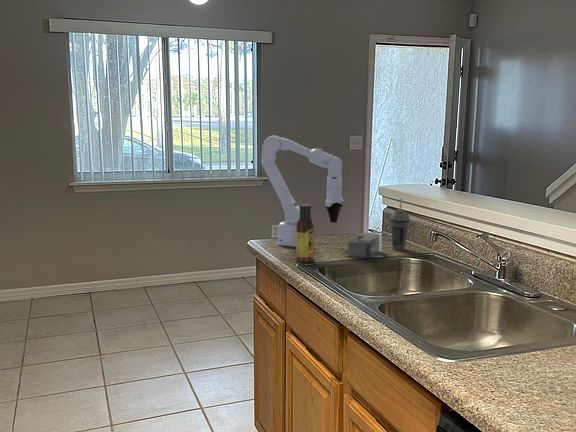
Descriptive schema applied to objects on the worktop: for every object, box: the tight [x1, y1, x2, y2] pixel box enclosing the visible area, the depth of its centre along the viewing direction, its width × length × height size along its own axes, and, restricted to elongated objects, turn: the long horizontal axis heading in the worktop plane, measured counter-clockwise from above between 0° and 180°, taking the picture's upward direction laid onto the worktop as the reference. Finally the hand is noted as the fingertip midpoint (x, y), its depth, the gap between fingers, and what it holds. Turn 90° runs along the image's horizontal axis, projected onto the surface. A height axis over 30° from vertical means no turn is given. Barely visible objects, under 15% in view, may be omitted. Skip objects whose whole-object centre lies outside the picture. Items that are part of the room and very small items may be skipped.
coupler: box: [347, 233, 381, 260], centre depth 207 cm, size 8×13×6 cm, turn 156°
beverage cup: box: [389, 198, 410, 252], centre depth 214 cm, size 7×7×20 cm
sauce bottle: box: [295, 204, 315, 263], centre depth 195 cm, size 7×6×20 cm
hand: (333, 222), depth 219 cm, fingers closed
